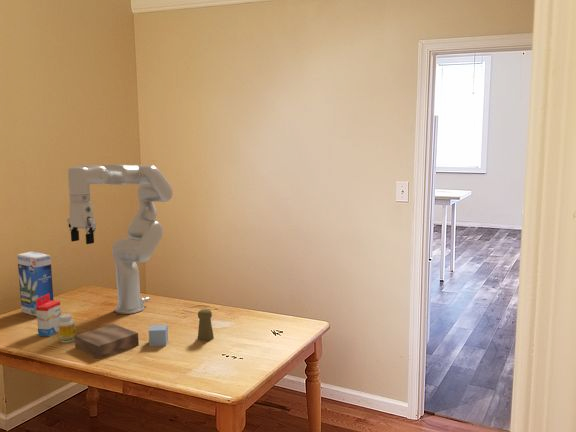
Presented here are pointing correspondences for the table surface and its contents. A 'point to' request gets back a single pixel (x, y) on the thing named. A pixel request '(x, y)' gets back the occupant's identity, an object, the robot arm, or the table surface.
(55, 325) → the ink box
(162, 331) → the blue cube
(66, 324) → the supplement bottle
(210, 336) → the cork
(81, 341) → the walnut block
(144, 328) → the table surface
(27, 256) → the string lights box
